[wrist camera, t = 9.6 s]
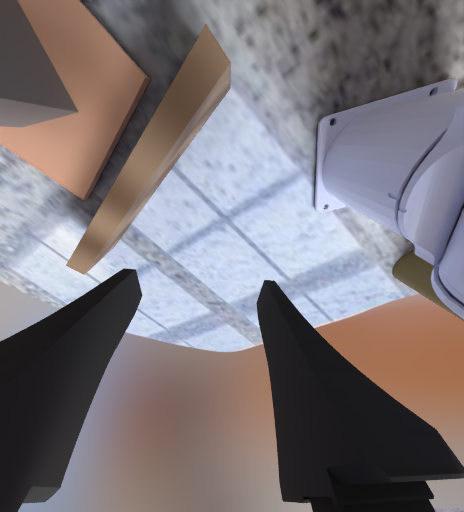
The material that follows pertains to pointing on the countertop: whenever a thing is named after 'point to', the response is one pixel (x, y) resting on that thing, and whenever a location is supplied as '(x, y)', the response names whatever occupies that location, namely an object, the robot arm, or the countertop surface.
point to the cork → (418, 277)
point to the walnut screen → (158, 147)
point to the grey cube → (27, 74)
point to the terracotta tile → (78, 96)
